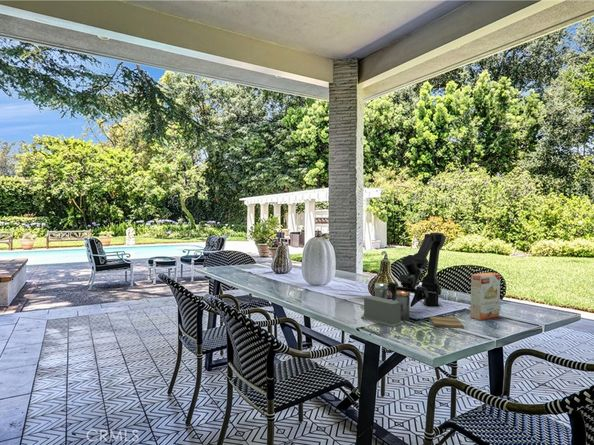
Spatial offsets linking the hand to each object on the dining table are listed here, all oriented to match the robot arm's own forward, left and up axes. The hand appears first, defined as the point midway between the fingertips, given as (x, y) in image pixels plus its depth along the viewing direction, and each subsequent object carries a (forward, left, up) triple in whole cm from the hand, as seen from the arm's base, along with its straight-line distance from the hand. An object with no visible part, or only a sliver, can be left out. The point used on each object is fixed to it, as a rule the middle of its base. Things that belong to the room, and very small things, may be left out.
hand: (401, 304), depth 175 cm
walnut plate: (-18, +8, -7) cm, 20 cm away
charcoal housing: (+10, +2, -7) cm, 12 cm away
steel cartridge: (+5, -19, -7) cm, 20 cm away
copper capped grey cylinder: (-1, -1, -7) cm, 7 cm away
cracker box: (-41, -1, -7) cm, 41 cm away
